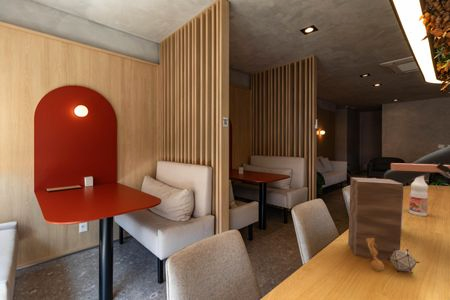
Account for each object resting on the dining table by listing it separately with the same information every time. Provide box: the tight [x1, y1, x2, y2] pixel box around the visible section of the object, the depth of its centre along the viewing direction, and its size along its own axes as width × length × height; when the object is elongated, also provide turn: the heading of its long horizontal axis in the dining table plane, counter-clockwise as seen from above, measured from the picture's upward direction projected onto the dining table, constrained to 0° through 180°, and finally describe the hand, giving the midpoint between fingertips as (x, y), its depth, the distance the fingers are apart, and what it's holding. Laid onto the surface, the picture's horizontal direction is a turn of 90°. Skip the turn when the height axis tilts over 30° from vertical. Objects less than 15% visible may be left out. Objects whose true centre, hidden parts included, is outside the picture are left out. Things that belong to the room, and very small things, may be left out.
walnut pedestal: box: [347, 176, 404, 262], centre depth 99 cm, size 12×16×32 cm
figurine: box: [366, 238, 385, 272], centre depth 86 cm, size 8×6×12 cm
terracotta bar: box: [390, 162, 450, 173], centre depth 103 cm, size 4×22×3 cm, turn 74°
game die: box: [387, 248, 421, 274], centre depth 85 cm, size 9×8×10 cm
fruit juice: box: [408, 175, 429, 217], centre depth 154 cm, size 9×9×28 cm
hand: (435, 165), depth 101 cm, fingers closed on terracotta bar, 3 cm apart
